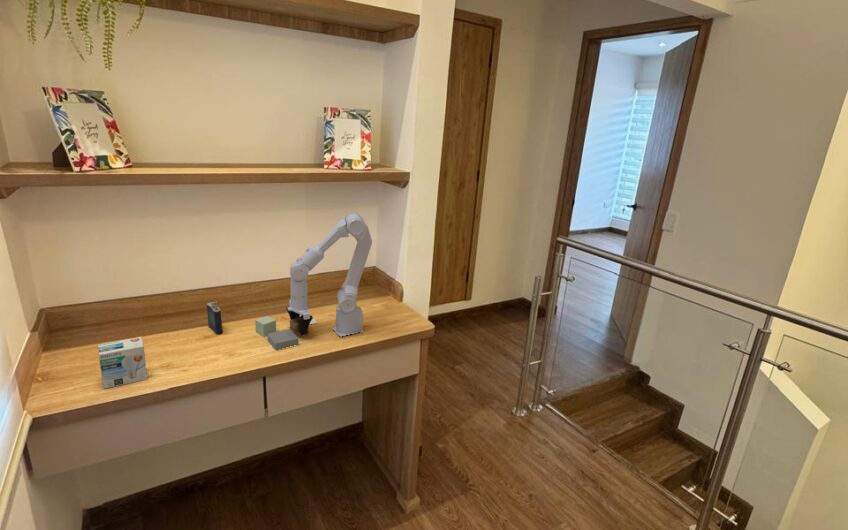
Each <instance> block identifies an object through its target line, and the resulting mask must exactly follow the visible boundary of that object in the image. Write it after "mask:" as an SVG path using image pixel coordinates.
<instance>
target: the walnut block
mask: <svg viewBox="0 0 848 530" xmlns="http://www.w3.org/2000/svg"><path fill="white" fill-rule="evenodd" d="M289 329H290V330H291V331H292V332H293V333H294V334H295V335H296V336H297V337H298V336H301V337H304V336H303V335H300V331H299V325H298V322H297V320H296V319H289ZM309 329H310V327H308V330H307V334H309V331H310V330H309ZM307 334H304V335H305V336H308V335H307ZM309 335H310V334H309ZM298 338H299V337H298Z"/></svg>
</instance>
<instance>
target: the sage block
mask: <svg viewBox="0 0 848 530" xmlns="http://www.w3.org/2000/svg"><path fill="white" fill-rule="evenodd" d="M254 324H255V333H256V334H258V335H259V336H261V337H263V338H265V337H267V334H269V333H273V332H277V319H275V318H272V317H270V316H269V315H267V316H263V317H260V318H256V319H255V320H254Z"/></svg>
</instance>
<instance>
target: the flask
mask: <svg viewBox="0 0 848 530" xmlns="http://www.w3.org/2000/svg"><path fill="white" fill-rule="evenodd" d="M206 312H207V313H206V315H207V326H208V328H210V330H211V331H212V332H213V333H214V334H215V335H216V336H220V335H223V333H224V331H223V324H222V310H221V308H220V307H219V305H218V301H212V302H208V303H206Z"/></svg>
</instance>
